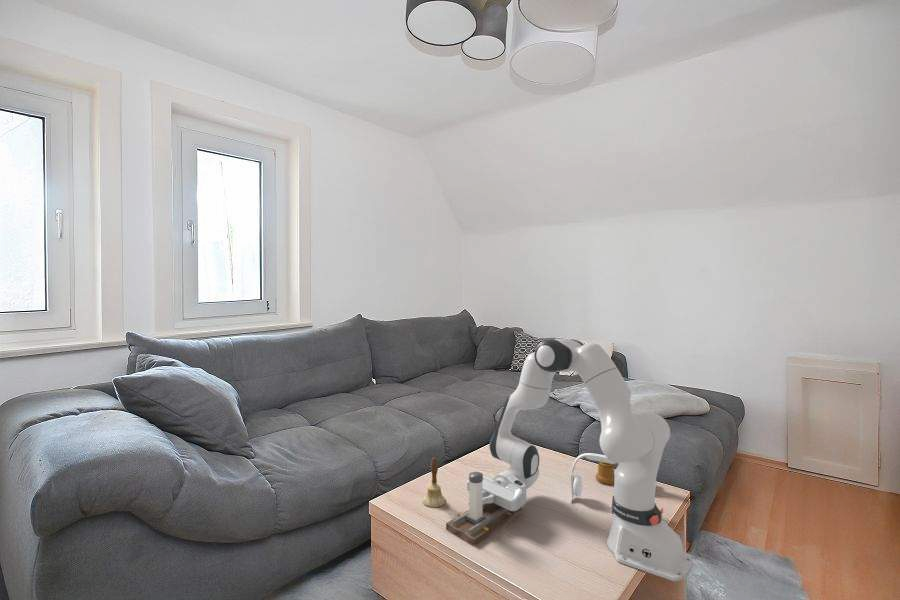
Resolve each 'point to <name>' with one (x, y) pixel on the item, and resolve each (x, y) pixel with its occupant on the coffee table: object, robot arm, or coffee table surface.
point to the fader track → (482, 523)
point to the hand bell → (434, 489)
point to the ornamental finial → (605, 473)
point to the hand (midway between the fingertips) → (478, 501)
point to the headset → (577, 481)
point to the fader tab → (475, 498)
